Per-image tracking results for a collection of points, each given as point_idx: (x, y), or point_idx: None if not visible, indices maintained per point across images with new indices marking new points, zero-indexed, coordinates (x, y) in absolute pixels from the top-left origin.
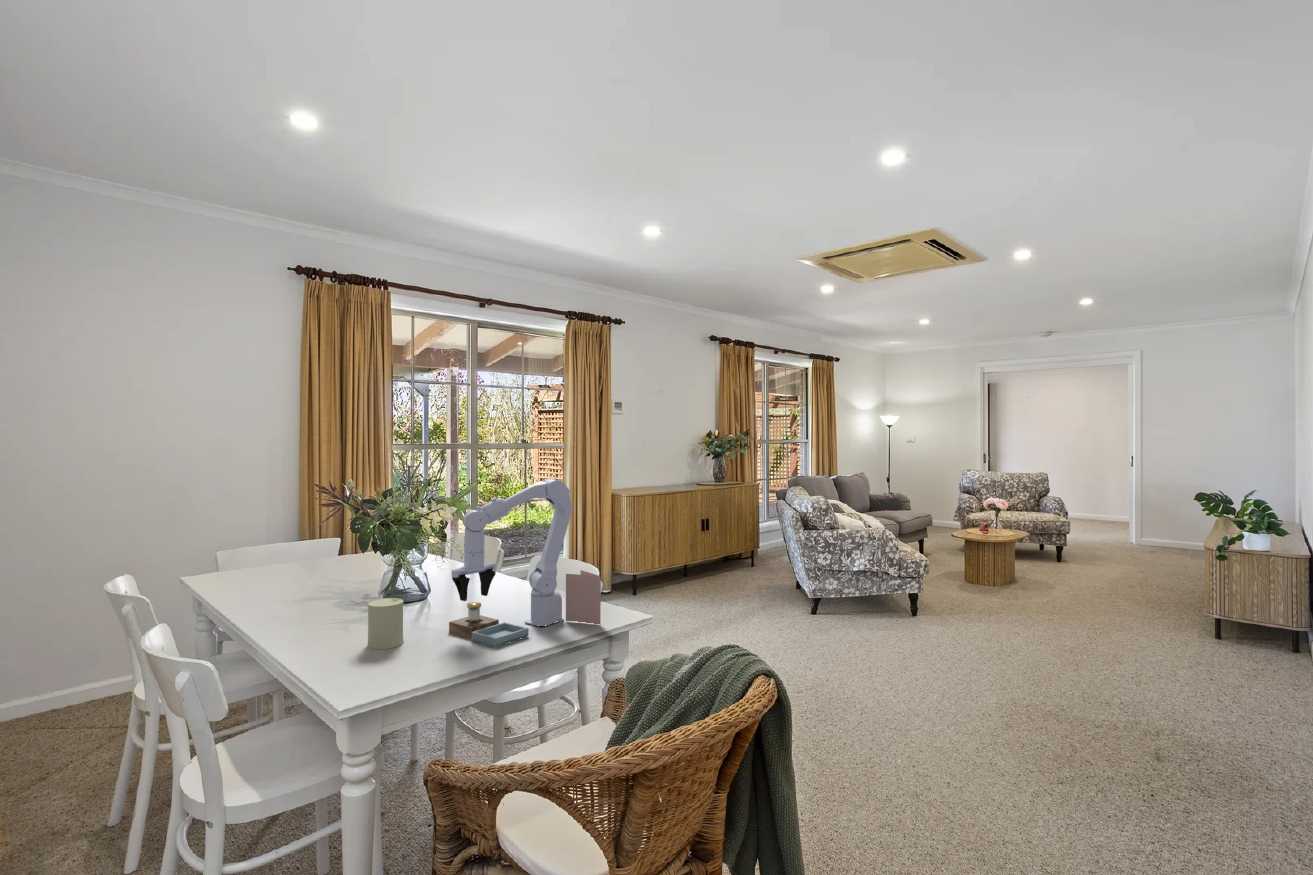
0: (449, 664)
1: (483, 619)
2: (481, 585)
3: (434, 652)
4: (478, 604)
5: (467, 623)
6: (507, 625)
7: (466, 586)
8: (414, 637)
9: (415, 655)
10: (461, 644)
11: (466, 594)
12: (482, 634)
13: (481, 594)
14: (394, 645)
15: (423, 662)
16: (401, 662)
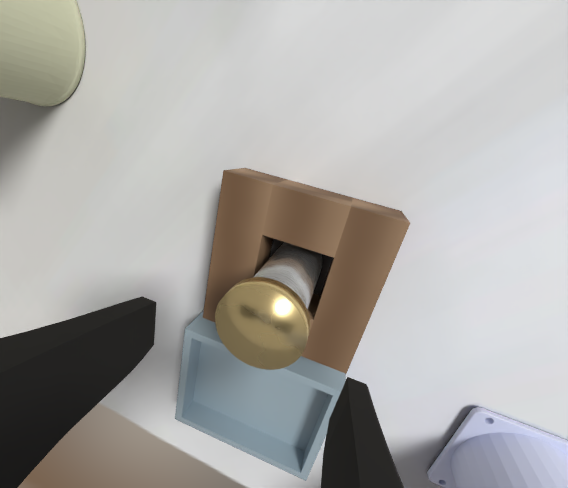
0: None
1: (324, 309)
2: (349, 473)
3: (85, 262)
4: (257, 360)
5: (241, 271)
6: (328, 401)
7: (7, 472)
8: (131, 76)
9: (44, 228)
10: (166, 297)
11: (102, 389)
12: (184, 371)
13: (346, 381)
14: (29, 102)
15: (35, 280)
16: (3, 229)
